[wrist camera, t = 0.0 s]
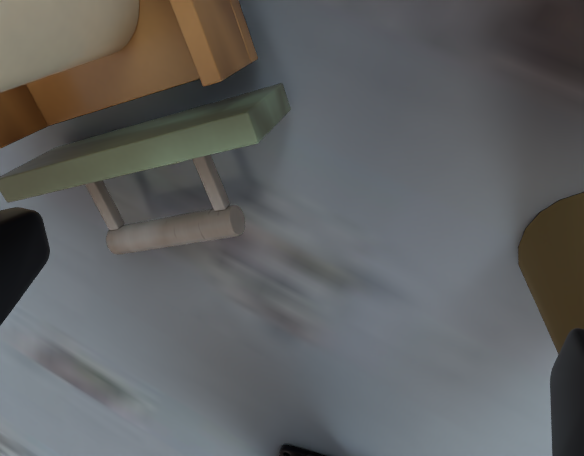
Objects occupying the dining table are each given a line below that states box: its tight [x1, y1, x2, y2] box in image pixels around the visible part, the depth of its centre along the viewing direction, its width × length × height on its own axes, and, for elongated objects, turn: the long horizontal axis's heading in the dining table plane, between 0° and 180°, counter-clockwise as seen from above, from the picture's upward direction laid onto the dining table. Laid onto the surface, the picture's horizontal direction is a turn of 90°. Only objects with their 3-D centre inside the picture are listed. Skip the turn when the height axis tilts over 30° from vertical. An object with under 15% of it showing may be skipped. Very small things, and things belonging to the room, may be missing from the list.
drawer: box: [0, 0, 291, 255], centre depth 20 cm, size 20×13×4 cm
